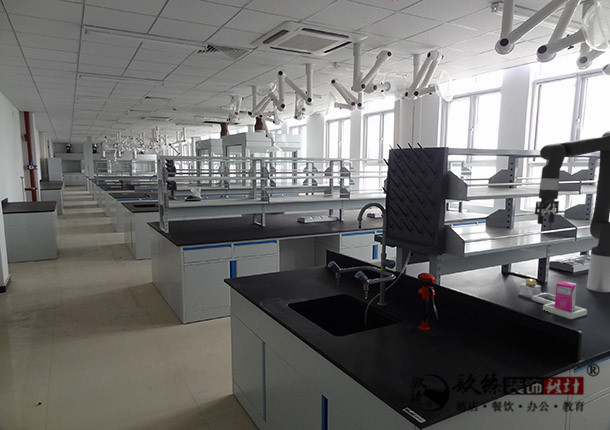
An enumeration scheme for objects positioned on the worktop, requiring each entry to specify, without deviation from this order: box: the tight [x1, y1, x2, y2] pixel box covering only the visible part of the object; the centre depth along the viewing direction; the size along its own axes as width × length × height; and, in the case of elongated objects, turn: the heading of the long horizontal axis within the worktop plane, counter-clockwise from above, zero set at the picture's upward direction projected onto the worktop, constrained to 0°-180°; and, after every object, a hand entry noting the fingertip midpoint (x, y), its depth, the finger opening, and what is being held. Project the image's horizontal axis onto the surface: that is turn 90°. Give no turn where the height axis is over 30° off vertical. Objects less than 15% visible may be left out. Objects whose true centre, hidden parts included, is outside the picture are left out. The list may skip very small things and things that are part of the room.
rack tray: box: [542, 301, 588, 320], centre depth 162 cm, size 11×11×2 cm
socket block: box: [518, 282, 556, 305], centre depth 177 cm, size 10×17×5 cm, turn 28°
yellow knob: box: [525, 278, 537, 286], centre depth 181 cm, size 4×4×6 cm
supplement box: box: [554, 280, 577, 313], centre depth 161 cm, size 6×6×12 cm
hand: (545, 223), depth 186 cm, fingers open, 8 cm apart
